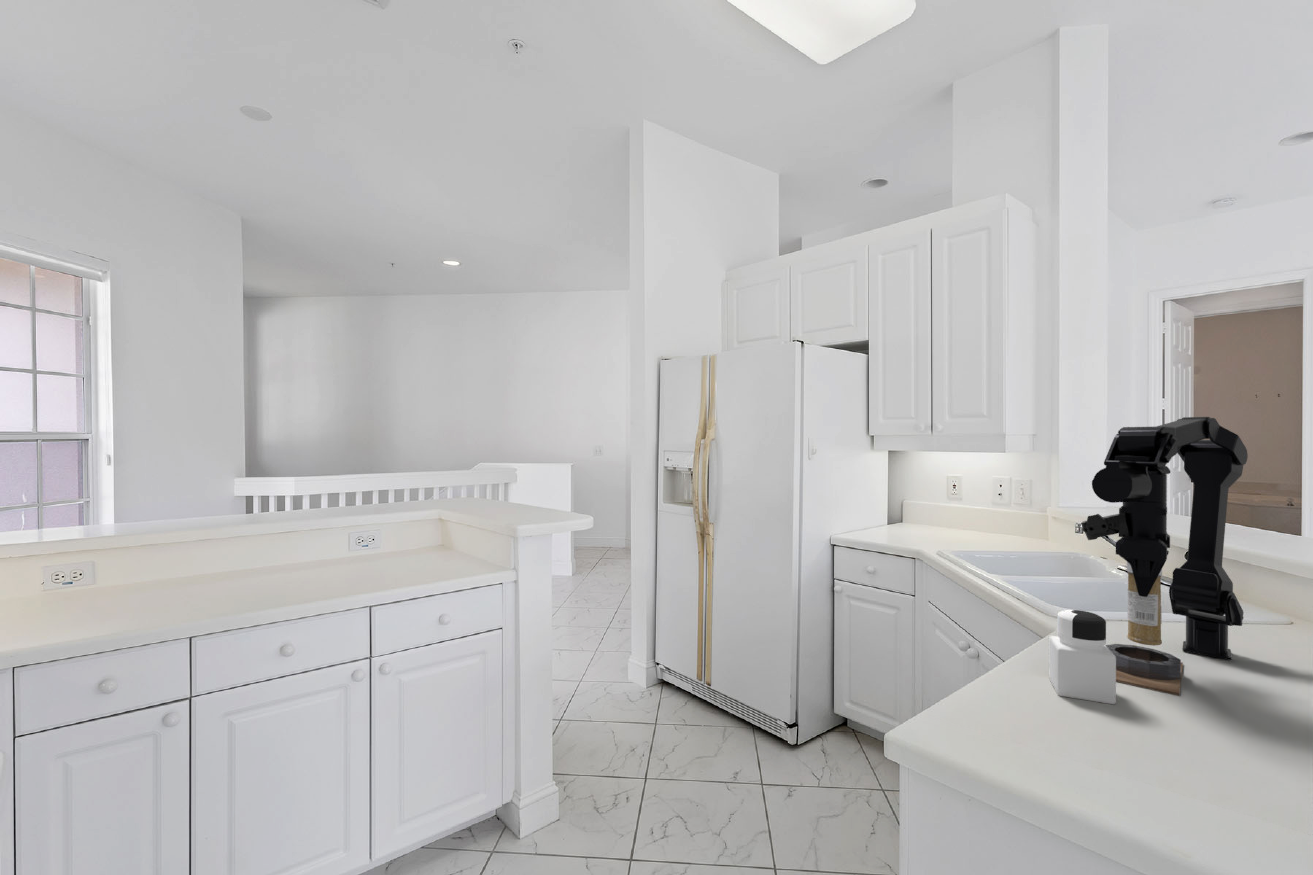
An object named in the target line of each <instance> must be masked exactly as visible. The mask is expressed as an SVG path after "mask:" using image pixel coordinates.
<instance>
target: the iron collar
mask: <svg viewBox="0 0 1313 875" xmlns="http://www.w3.org/2000/svg"><path fill="white" fill-rule="evenodd" d="M1105 646H1106V647H1107V648H1108V649H1109V650H1110V651H1111V652H1112V653H1113V654H1114V655H1115V656H1116V670H1118V671H1121V672H1124V673H1127V674H1130V675H1135V676H1139V677H1144V678H1148V679H1158V680H1175V679H1180V675H1181V662H1182V661H1181V660H1182V659H1180V658H1178V657H1177V656H1174V655H1173V654H1171V653H1169V652H1165V651H1161V650H1158V649H1154V648H1150V647H1145V646H1139V645H1134V644H1123V643H1114V644H1113V643H1111V644H1105Z"/></svg>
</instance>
